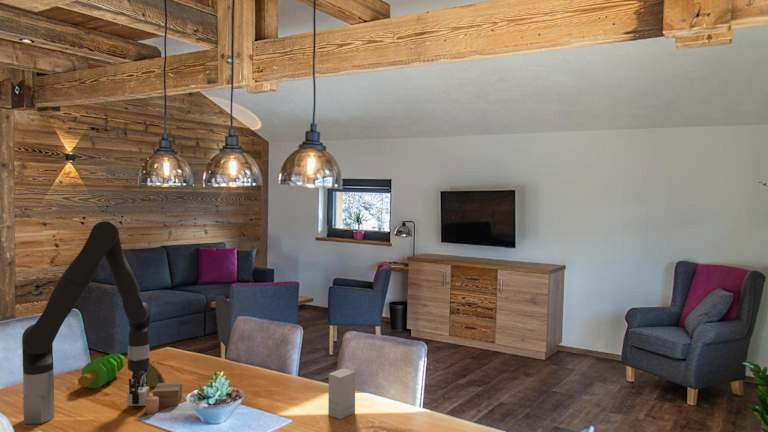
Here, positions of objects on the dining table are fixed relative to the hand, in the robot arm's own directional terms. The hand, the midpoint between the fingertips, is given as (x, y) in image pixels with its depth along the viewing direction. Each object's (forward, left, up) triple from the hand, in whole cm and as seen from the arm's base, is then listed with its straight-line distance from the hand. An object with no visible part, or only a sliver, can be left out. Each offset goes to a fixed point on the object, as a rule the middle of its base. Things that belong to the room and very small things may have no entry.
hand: (138, 400), depth 224 cm
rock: (+22, +2, -2) cm, 22 cm away
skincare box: (-12, -76, -2) cm, 77 cm away
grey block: (0, 0, -1) cm, 1 cm away
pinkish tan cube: (-6, -7, -2) cm, 9 cm away
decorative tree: (+29, +22, -2) cm, 37 cm away
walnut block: (+4, -10, -2) cm, 11 cm away
